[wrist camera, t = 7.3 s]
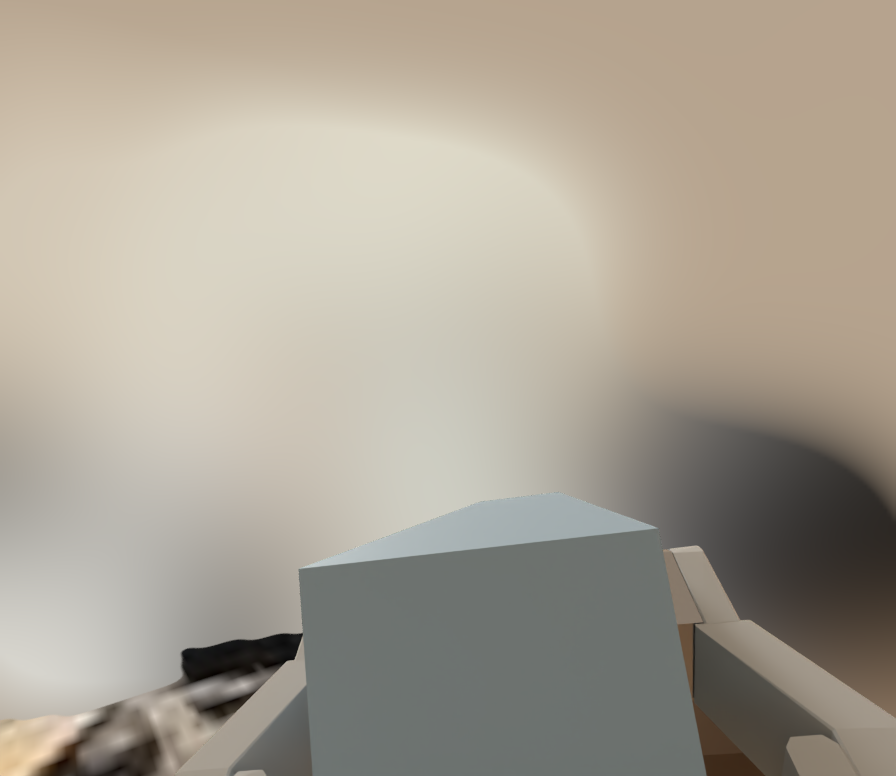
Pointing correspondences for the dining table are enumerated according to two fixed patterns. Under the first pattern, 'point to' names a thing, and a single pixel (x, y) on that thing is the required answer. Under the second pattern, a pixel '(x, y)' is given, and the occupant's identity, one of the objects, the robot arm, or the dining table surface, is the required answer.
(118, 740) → the dining table surface
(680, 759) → the bar
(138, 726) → the dining table surface
